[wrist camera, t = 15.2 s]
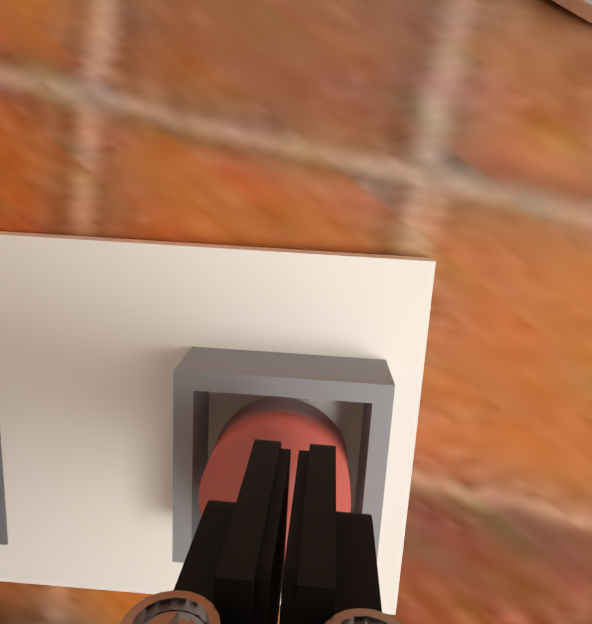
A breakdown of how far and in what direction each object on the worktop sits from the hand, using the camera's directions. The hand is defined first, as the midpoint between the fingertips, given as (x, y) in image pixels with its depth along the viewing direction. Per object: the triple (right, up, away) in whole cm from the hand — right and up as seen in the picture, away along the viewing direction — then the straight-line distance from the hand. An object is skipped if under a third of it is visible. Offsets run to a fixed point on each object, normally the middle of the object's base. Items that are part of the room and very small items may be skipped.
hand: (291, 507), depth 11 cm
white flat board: (-7, +1, +6) cm, 9 cm away
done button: (0, 0, +4) cm, 4 cm away
